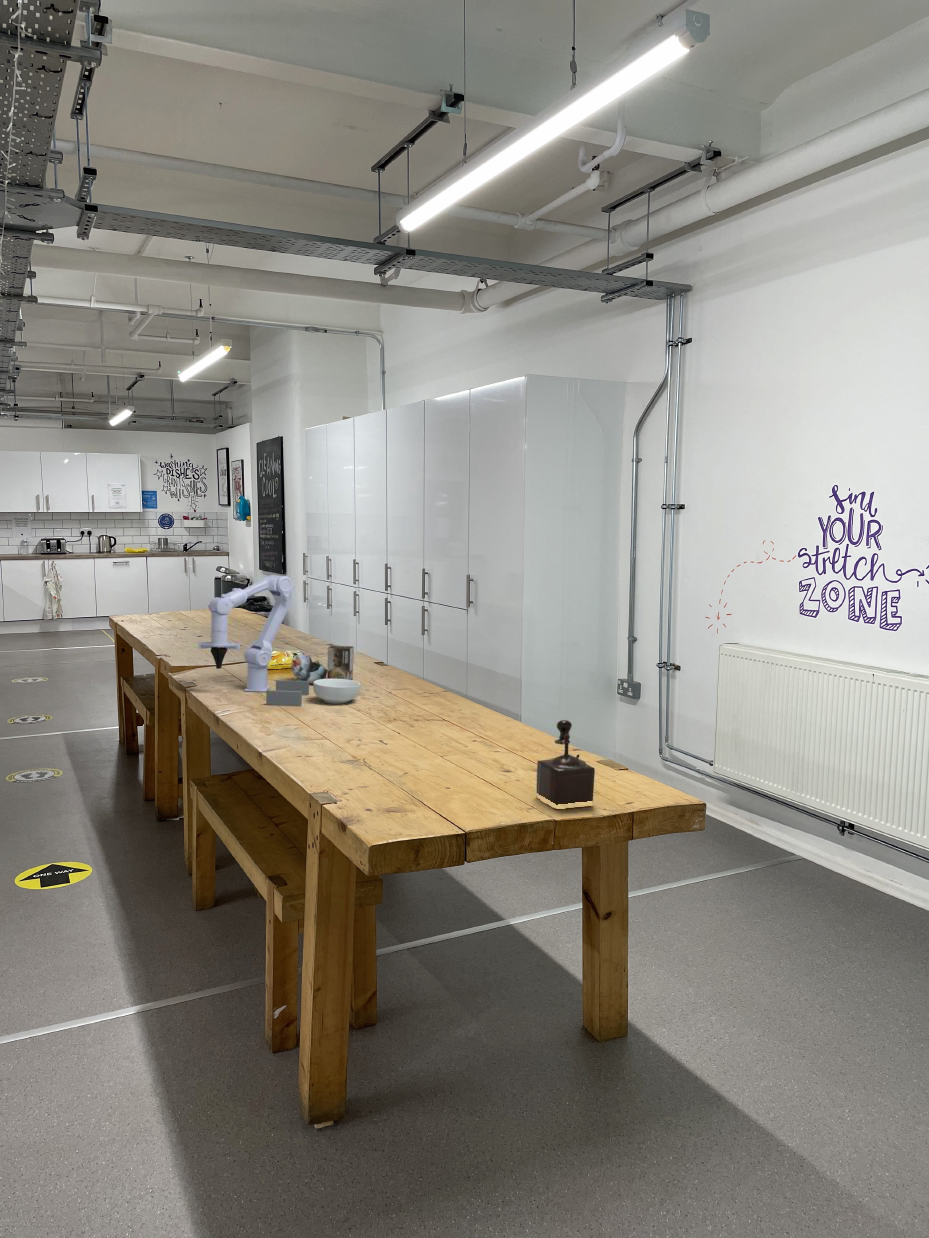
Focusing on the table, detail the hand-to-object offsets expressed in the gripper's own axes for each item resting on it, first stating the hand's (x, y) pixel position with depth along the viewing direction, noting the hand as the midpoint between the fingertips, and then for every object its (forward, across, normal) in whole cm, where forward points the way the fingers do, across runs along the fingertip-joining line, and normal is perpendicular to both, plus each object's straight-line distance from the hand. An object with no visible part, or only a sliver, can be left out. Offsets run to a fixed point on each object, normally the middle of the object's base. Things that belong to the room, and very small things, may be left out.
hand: (218, 668), depth 319 cm
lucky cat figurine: (+10, +29, +29) cm, 42 cm away
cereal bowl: (+10, +43, -6) cm, 45 cm away
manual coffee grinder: (+10, +107, -113) cm, 156 cm away
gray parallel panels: (+9, +26, -6) cm, 28 cm away
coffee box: (+10, +42, +20) cm, 47 cm away
